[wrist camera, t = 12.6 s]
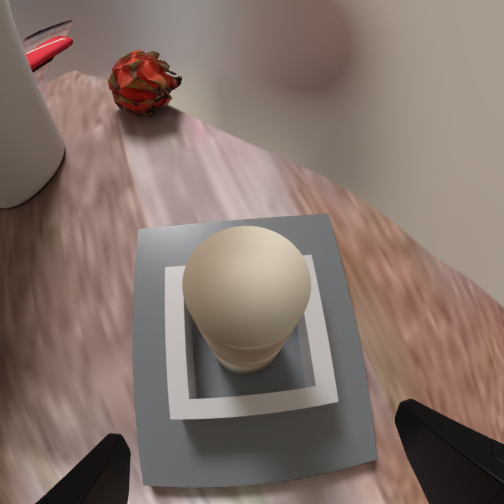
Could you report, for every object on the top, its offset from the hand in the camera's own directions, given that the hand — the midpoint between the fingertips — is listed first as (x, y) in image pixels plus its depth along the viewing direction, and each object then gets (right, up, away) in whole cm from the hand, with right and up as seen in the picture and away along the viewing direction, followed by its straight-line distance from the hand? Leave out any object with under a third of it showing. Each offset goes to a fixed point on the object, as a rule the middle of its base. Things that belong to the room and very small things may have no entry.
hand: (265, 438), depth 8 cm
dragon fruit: (-14, +25, +27) cm, 40 cm away
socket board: (-1, -1, +13) cm, 13 cm away
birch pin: (-1, -1, +12) cm, 12 cm away
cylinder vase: (-29, +16, +22) cm, 40 cm away
